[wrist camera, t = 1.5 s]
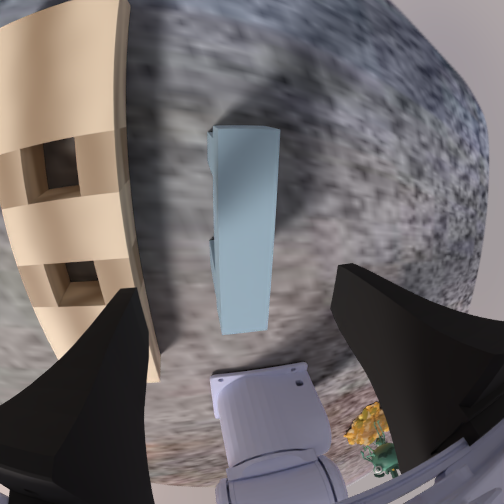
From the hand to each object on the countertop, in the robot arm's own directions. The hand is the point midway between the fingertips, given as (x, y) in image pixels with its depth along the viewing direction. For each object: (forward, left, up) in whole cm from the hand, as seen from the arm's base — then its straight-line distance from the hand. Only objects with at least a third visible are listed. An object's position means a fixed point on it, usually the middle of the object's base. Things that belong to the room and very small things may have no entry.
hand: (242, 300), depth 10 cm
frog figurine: (-24, +38, -10) cm, 46 cm away
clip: (-1, 0, -10) cm, 10 cm away
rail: (+9, 0, -10) cm, 13 cm away
